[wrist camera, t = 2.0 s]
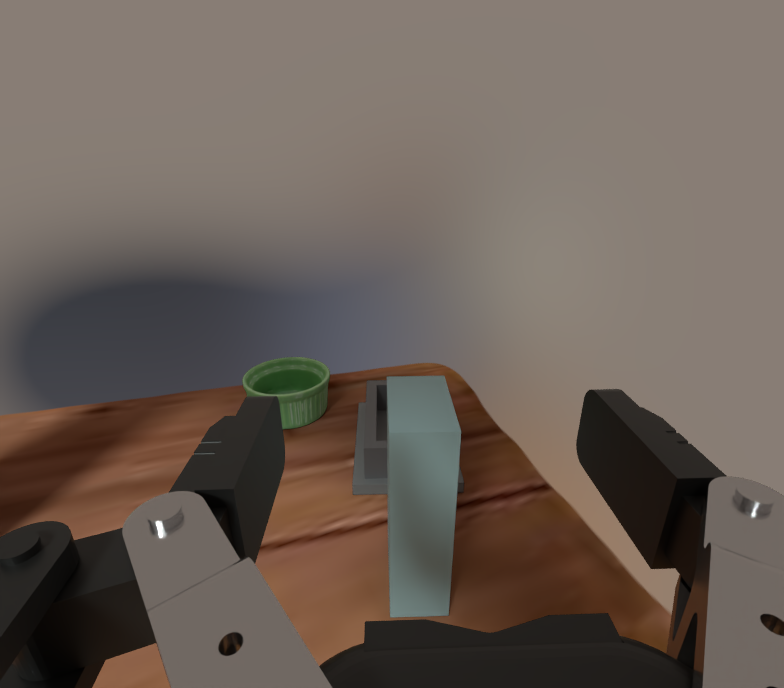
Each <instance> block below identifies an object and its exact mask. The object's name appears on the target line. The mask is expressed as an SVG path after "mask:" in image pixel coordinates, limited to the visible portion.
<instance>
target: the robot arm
mask: <svg viewBox="0 0 784 688" xmlns="http://www.w3.org/2000/svg"><path fill="white" fill-rule="evenodd" d="M576 446H577V455H578V458H579V461H580V463H581V465H582V467H583V468H584V470H585V471H586V473H587V474H588V476H589V477H590V479H591V480H592V482H593V483H594V485H595V486H596V488H597V489H598V491H599V492H600V494H601V495H602V497H603V498H604V500H605V501H606V503H607V504H608V506H609V507H610V509H611V510H612V511H613V513H614V514H615V516H616V517H617V519H618V520H619V522H620V523H621V525H622V526H623V528H624V529H625V531H626V532H627V534H628V535H629V537H630V538H631V540H632V541H633V543H634V544H635V546H636V547H637V549H638V550H639V552H640V553H641V555H642V556H643V557H644V559H645V560H646V562H647V564H648V565H649V567H650V568H651V569H667V568H676V570H677V571H678V572H679V574H680V575H679V578H678V582H677V585H676V588H675V596H674V603H673V611H672V617H671V624H670V631H669V638H668V646H667V653H664V652H662V651H660V650H658V649H656V648H653V647H651V646H649V645H646V644H644V643H642V642H639V641H636V640H633V639H629V638H626V637H623V636H619V634H618V632H617V630H616V628H615V626H614V624H613V622H612V620H611V618H610V616H609V615H608V613H600V614H571V615H548V616H545V617H542V618H539V619H536V620H532V621H529V622H526V623H523V624H520V625H517V626H514V627H511V628H507V629H504V630H501V631H498V632H494V633H486V632H481V631H476V630H472V629H467V628H462V627H458V626H453V625H448V624H444V623H439V622H435V621H430V620H395V621H366V622H365V638H364V643H363V644H360V645H356V646H353V647H351V648H349V649H347V650H344V651H342V652H340V653H338V654H337V655H335V656H333V657H332V658H330V659H328V660H327V661H325V662H324V663H323V664H321V665H320V666H318V664H317V663H316V661H315V659H314V658H313V656H312V655H311V653H310V651H309V650H308V648H307V647H306V645H305V643H304V642H303V640H302V639H301V637H300V635H299V634H298V632H297V631H296V629H295V627H294V626H293V624H292V623H291V621H290V619H289V618H288V616H287V615H286V613H285V611H284V610H283V608H282V607H281V605H280V603H279V602H278V600H277V599H276V597H275V595H274V594H273V592H272V591H271V589H270V587H269V586H268V584H267V583H266V581H265V579H264V578H263V576H262V575H261V573H260V571H259V570H258V568H257V567H256V565H255V562H256V559H257V555H258V552H259V549H260V546H261V542H262V539H263V536H264V532H265V529H266V526H267V523H268V519H269V516H270V513H271V510H272V506H273V503H274V500H275V496H276V493H277V490H278V487H279V483H280V480H281V477H282V474H283V470H284V463H285V445H284V437H283V429H282V420H281V412H280V404H279V400H278V397H277V396H249V397H246V398H245V400H244V402H243V404H242V405H241V407H240V409H239V411H238V413H237V414H236V416H225V417H223V418H222V419H221V420H219V421H218V422H217V423H215V424H214V425H213V426H211V427H210V428H209V430H208V431H207V433H206V434H205V436H204V438H203V439H202V441H201V444H199V445H198V447H197V449H196V450H195V452H194V455H192V457H191V458H190V460H189V461H188V463H187V464H186V466H185V468H184V469H183V471H182V472H181V474H180V476H179V477H178V479H177V480H176V482H175V483H174V485H173V487H172V488H171V490H170V491H169V493H166V494H162V495H160V496H157V497H155V498H152V499H150V500H148V501H147V502H145V503H143V504H142V505H140V506H139V507H138V508H136V509H135V510H134V511H133V512H132V513H131V514H130V515H129V517H128V518H127V519H126V521H125V523H124V525H123V528H120V529H117V530H113V531H109V532H105V533H102V534H98V535H94V536H90V537H86V538H82V539H78V540H74V539H73V536H72V534H71V531H70V529H69V527H68V526H67V525H65V524H63V523H61V522H55V521H46V522H38V523H34V524H30V525H27V526H24V527H21V528H18V529H16V530H14V531H11V532H9V533H7V534H5V535H4V536H2V537H0V688H92V687H93V685H94V683H95V681H96V678H97V676H98V674H99V672H100V670H101V668H102V666H103V664H104V662H105V660H107V659H110V658H113V657H115V656H118V655H121V654H124V653H127V652H130V651H133V650H136V649H139V648H142V647H145V646H148V645H151V644H154V643H157V646H158V650H159V653H160V656H161V659H162V662H163V665H164V668H165V672H166V675H167V678H168V681H169V684H170V687H171V688H784V496H783V495H782V494H780V493H779V492H777V491H775V490H773V489H771V488H769V487H767V486H765V485H762V484H760V483H758V482H755V481H752V480H748V479H744V478H739V477H727V476H726V475H725V474H724V473H723V472H722V471H720V470H719V469H718V468H717V467H716V466H715V465H714V464H713V463H712V462H710V461H709V460H708V459H707V458H706V457H705V456H704V455H703V454H702V453H700V452H699V451H698V450H697V449H696V448H695V447H694V446H693V445H691V444H688V441H687V440H686V439H685V438H684V437H683V436H682V435H680V434H679V433H676V430H675V429H674V428H673V427H671V426H670V425H669V424H668V423H667V422H666V421H665V420H664V419H663V418H661V417H659V416H657V415H656V414H654V413H652V412H650V411H648V410H646V409H644V408H641V407H639V406H638V405H637V404H636V403H635V402H634V401H633V400H632V399H631V398H630V397H628V396H627V395H626V394H625V393H624V392H623V391H622V390H619V389H606V390H605V389H604V390H589V391H588V392H587V393H586V395H585V397H584V402H583V408H582V414H581V419H580V425H579V430H578V436H577V444H576Z"/></svg>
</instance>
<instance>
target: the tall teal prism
mask: <svg viewBox="0 0 784 688" xmlns="http://www.w3.org/2000/svg"><path fill="white" fill-rule="evenodd" d="M460 443H461V429H460V426H459V423H458V419H457V416H456V413H455V409H454V406H453V403H452V400H451V396H450V393H449V390H448V387H447V383H446V380H445V377H444V376H395V377H387V471H388V556H389V593H390V617H419V616H449V603H450V589H451V574H452V560H453V545H454V530H455V516H456V501H457V487H458V472H459V458H460Z"/></svg>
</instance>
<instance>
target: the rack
mask: <svg viewBox="0 0 784 688" xmlns="http://www.w3.org/2000/svg"><path fill="white" fill-rule="evenodd" d="M463 490H464V480H463V477H462V473H461V469H460V465H459V472H458V487H457V492H463ZM363 494H388V471H387V380H373V381H367V390H366V402H365V403H359V408H358V420H357V433H356V446H355V459H354V472H353V495H363Z"/></svg>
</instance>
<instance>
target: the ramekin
mask: <svg viewBox="0 0 784 688" xmlns="http://www.w3.org/2000/svg"><path fill="white" fill-rule="evenodd" d="M329 379H330V371H329V369H328V367H327V366H326V365H325V364H323V363H322V362H319V361H316V360H314V359H309V358H303V357H289V358H280V359H275V360H270V361H267V362H263V363H261V364H259V365H257V366H255V367H253V368H251V369H250V370H249V371H247V373H246V374H245V375H244V377H243V380H242V383H243V387H244V389H245V391H246V393H247V397H249V396H277V397H278V400H279V404H280V412H281V420H282V429H293V428H298V427H302V426H305V425H308V424H310V423H312V422H314V421H316V420H317V419H319V418H320V417H321V416H322V415H323V414H324V412H325V410H326V408H327V396H328V382H329Z"/></svg>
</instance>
